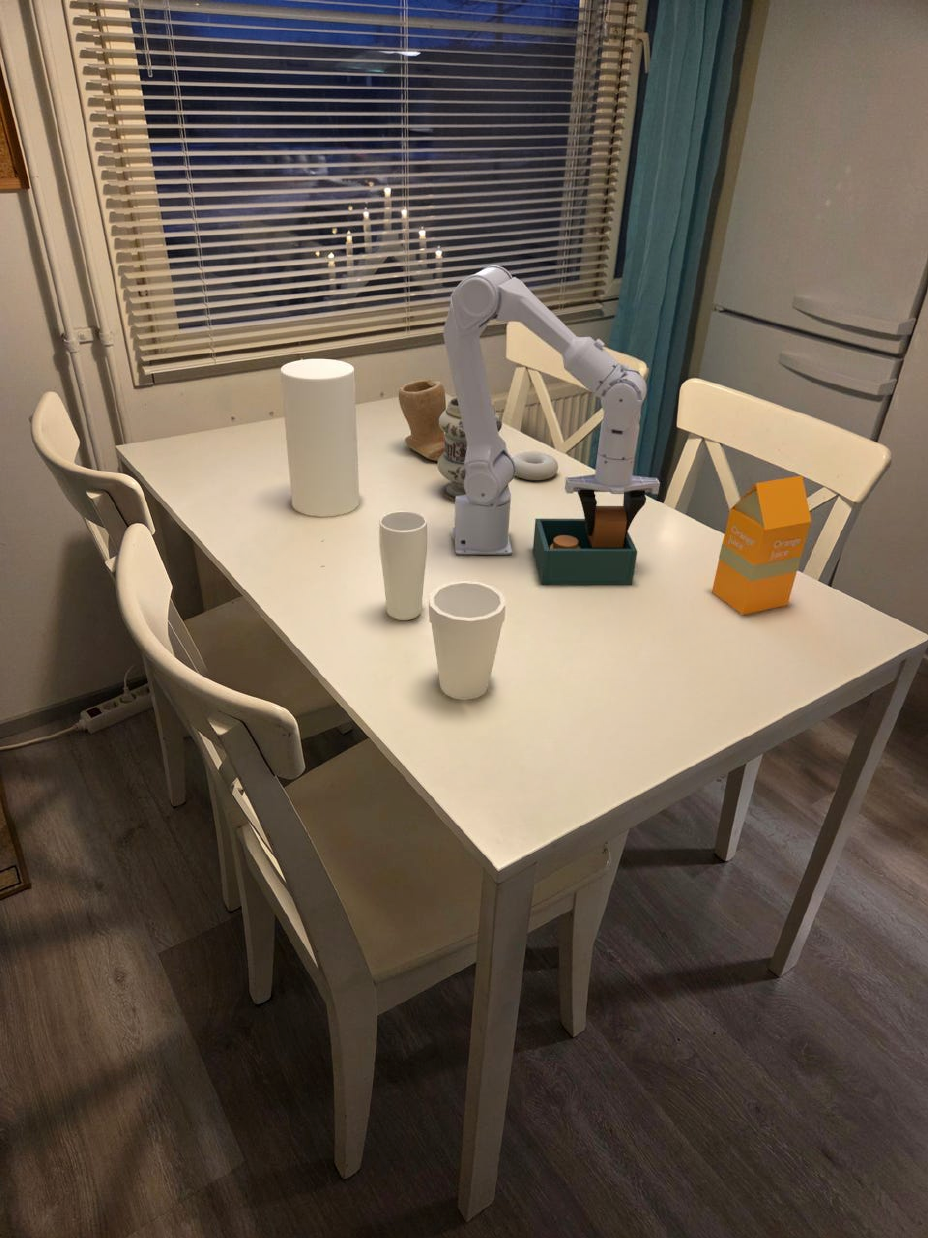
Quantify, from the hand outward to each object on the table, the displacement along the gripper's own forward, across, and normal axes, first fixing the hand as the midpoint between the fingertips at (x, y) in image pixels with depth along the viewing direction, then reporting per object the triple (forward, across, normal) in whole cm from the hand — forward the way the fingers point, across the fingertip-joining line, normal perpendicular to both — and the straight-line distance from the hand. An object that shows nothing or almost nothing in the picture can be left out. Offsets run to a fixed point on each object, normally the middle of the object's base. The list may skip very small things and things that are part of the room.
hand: (605, 533), depth 134 cm
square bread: (+1, 0, 0) cm, 1 cm away
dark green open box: (+6, -4, 0) cm, 7 cm away
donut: (+6, -6, +40) cm, 41 cm away
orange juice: (+6, +22, -10) cm, 25 cm away
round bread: (+6, -7, -1) cm, 9 cm away
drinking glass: (+6, -32, -14) cm, 36 cm away
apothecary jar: (+6, -20, +30) cm, 36 cm away
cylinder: (+6, -48, +24) cm, 54 cm away
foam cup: (+6, -24, -32) cm, 41 cm away
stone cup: (+6, -28, +50) cm, 58 cm away
